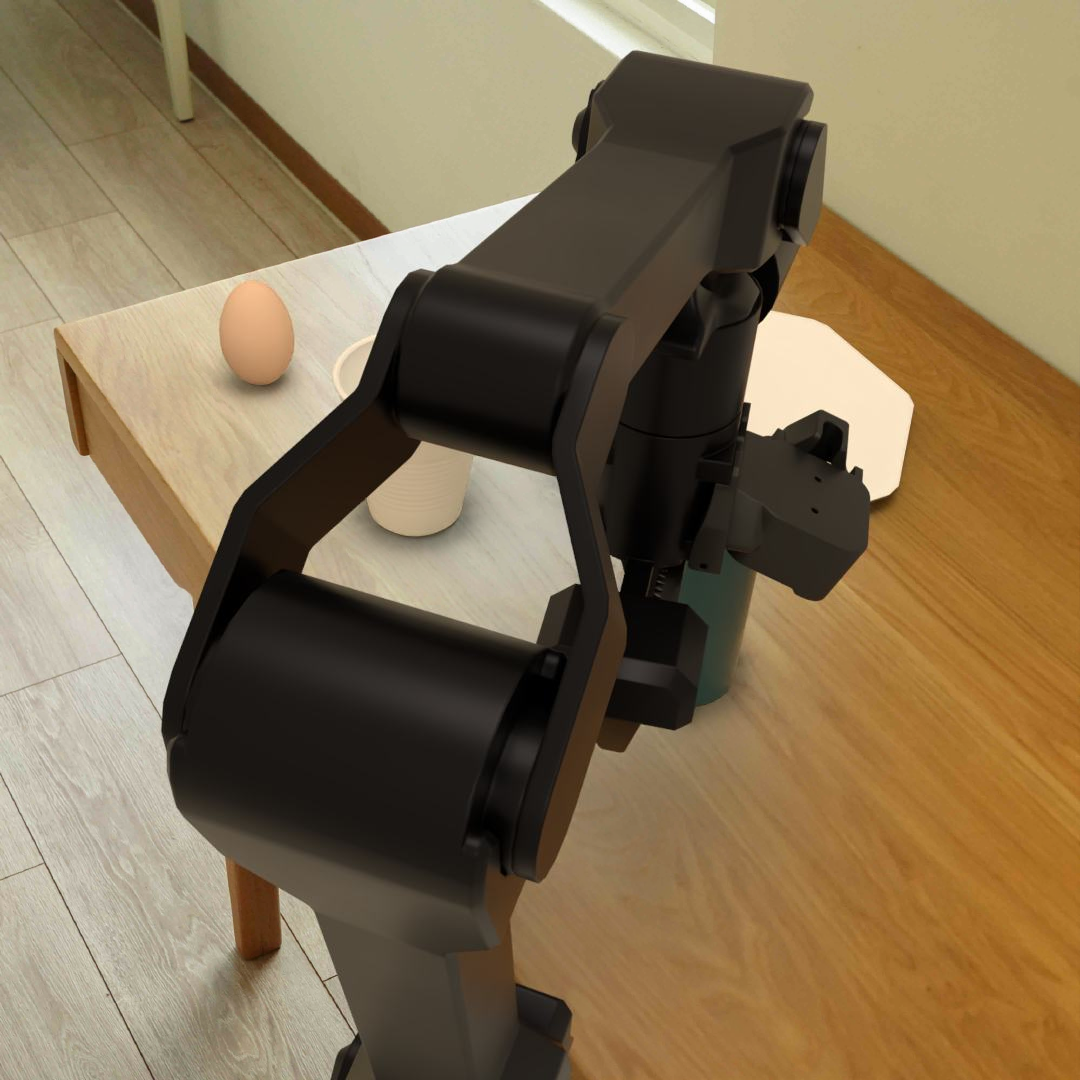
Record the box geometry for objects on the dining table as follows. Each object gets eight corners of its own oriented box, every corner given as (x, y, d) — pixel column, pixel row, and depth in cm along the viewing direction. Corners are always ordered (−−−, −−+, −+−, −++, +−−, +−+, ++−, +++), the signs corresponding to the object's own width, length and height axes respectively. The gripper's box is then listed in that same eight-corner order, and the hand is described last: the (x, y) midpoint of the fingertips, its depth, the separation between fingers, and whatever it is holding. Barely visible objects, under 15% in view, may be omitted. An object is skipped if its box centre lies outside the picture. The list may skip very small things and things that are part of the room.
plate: (983, 477, 95) (989, 460, 94) (648, 588, 85) (650, 571, 84) (763, 287, 113) (765, 271, 112) (463, 359, 103) (464, 343, 102)
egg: (229, 405, 97) (217, 307, 91) (221, 365, 101) (208, 268, 95) (303, 396, 98) (295, 298, 93) (291, 356, 102) (283, 260, 96)
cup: (330, 555, 86) (319, 415, 78) (351, 458, 93) (343, 322, 86) (486, 564, 86) (490, 425, 78) (494, 467, 93) (499, 332, 86)
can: (751, 697, 78) (790, 529, 70) (643, 715, 77) (669, 546, 68) (712, 618, 83) (744, 452, 74) (610, 634, 82) (630, 466, 73)
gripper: (874, 597, 43) (790, 878, 54) (887, 300, 57) (818, 569, 67) (536, 535, 45) (518, 821, 55) (629, 260, 58) (600, 530, 69)
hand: (629, 672), depth 62 cm, fingers open, 9 cm apart
